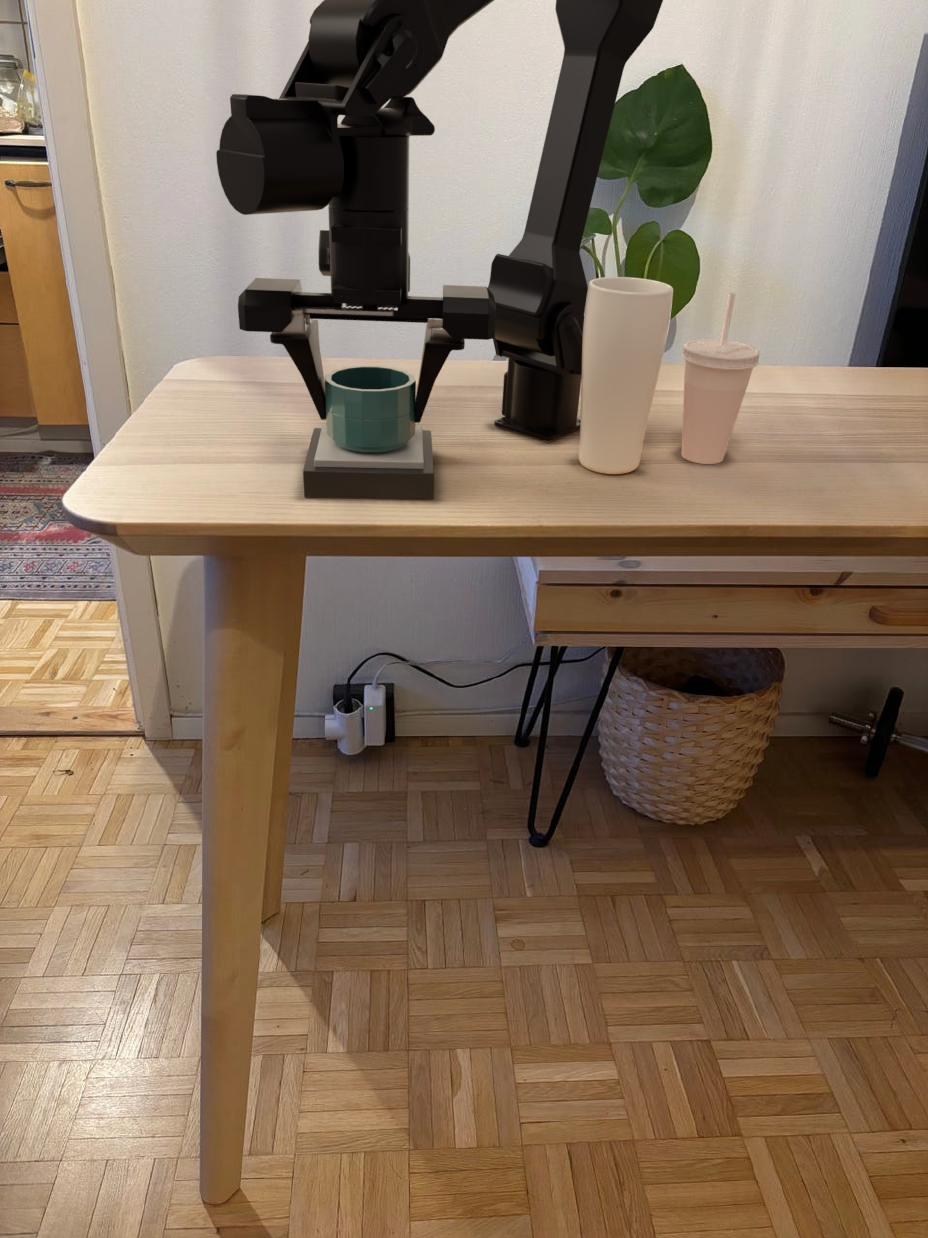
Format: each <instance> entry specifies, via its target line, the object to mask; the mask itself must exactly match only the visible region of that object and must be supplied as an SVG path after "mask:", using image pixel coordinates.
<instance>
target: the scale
mask: <svg viewBox="0 0 928 1238" xmlns="http://www.w3.org/2000/svg"><path fill="white" fill-rule="evenodd" d="M432 439H433V437H432V430H427V429H426V430H425V429H424V430H423V426H419V425H418V426H416V425H415V435H414V436H413V437H412V438H411V439H410V440H409V441H408V443H407V444H406V445H405V446H403V447H401V448H399V449H396V450H392V451H386V452H358V451H352V450H348V449H345V448H342V447H340V446H338V445H337V444H335V443H334V441H333V439H331V438H330V437H329V436H328V435H327V424H326V423H324V424H322V425H321V427H314V428H313V430H312V435H311V438H310V442H309V446H308V451H307V455H306V459H305V463H304V466H303V470H302V481H303V497H304V498H318V499H319V498H323V499H373V500H374V499H377V500H378V499H382V500H384V499H385V500H434V497H435V496H434V494H435V467H434V466H435V465H434V452H433V440H432Z"/></svg>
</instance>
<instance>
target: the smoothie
mask: <svg viewBox="0 0 928 1238" xmlns="http://www.w3.org/2000/svg"><path fill="white" fill-rule="evenodd" d="M735 298H736V293H735V292H728V294H727V301H726V306H725V312H724V318H723V322H722V328H721V334H720V339H718V338H717V339H716V338H699V339H692V340H689V341H686V342H685V343H684V345H683V349H682V353H681V358H683V360H684V377H683V379H684V381H683V403H682V404H683V405H682V406H683V407H682V430H681V431H682V433H681V453H680V454H681V457H682V458H683V459H684V460H687V461H688V462H692V463H696V464H700V465H701V464H702V465H716V464H720V463H722V462H723V461H724V460H725V459H724V458H725V455H726V452H727V449H728V447H729V443H730V440H731V437H732V435H733V431H734V428H735V424H736V422H737V418H738V415H739V412H740V409H741V406H742V403H743V401H744V397H745V395H746V393H747V389H748V386H749V383H750V379H751V376H752V373H753V370H754V368H756V367H758V365H759V358H760V354H761V353H760V350H759V349H758V348H757V347H754V346H753V345H751V344H748V343H743V342H739V341H733V340H728V337H729V332H730V326H731V321H732V315H733V311H734V305H735V300H736V299H735Z"/></svg>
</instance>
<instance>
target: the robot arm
mask: <svg viewBox="0 0 928 1238" xmlns="http://www.w3.org/2000/svg"><path fill="white" fill-rule="evenodd" d="M494 1H495V0H322V1H321V2H320V3H319V5H318V6H317V7H315V9H314V10H313V12H312V14H311V16H310V18H309V25H310V27H309V34H308V41H307V43H306V45H305V46H304V49H303V51H302V52H301V55H300V57H299V59H298V61H297V62H296V64H295V66H294V68H293V71H291V74H290V76H289V78H288V80H287V82H286V84H285V86H284V87H283V90H282V92H281V94H280V95H279V98H271V97H269V96H266V95H257V94H248V93H247V94H245V93H242V94H241V93H232V94H231V95H230V97H229V101H230V102H229V103H230V116H229V118H228V119H227V120H226V121H225V123H224V124H223V127H222V129H221V130H222V131H221V134H220V137H219V146H218V147H219V148H218V149H217V150H216V152H215V153H216V166H217V173H218V177H219V182H220V185H221V189H222V191H223V193H224V196H225V197H226V199H227V201H228V203H229V204H230V206H231V207H232V208H233V209H234V210H235V211H236V212H238V213H239V214H241V215H244V216H250V215H264V214H265V215H266V214H281V213H282V214H283V213H294V212H295V213H296V212H297V213H298V212H310V211H311V212H312V211H313V212H314V211H321V210H323V209H325V208H326V207H328V230H327V229H326V230H325V229H321V230H319V235H318V236H319V237H318V270H319V272H320V274H321V275H322V277H330V292H310V291H309V292H307V291H303V288H302V283H301V280H300V279H296V278H270V277H269V278H268V277H266V278H265V277H255V278H254V279H253V280H252V281H251V282H250V284H248V286H247V287H246V288H245V289H244V290H243V291H242V292H241V293H240V294H239V295H238V300H237V314H238V326H239V327H238V328H239V330H241V331H244V332H253V333H254V332H256V333H257V332H258V333H270V335H269V340H270V343H271V344H275V345H282V346H283V347H284V349H285V350H286V352H287V353H288V355H289V357H290V359H291V360H292V362H293V363H294V366H295V367H296V369H297V370H298V372H299V374H300V376H301V378H302V380H303V382H304V384H305V386H306V389H307V391H308V393H309V396H310V398H311V401H312V402H313V404H314V407H315V409H316V411H317V414H318V416H319V418H320V420H321V421H326V397H325V373H324V368H323V367H324V366H323V362H322V361H323V360H322V354H321V348H320V331H319V320H331V321H334V320H335V321H337V320H338V321H358V322H359V321H362V322H363V321H364V322H391V323H416V324H418V323H419V324H426V326H425V333H424V340H423V347H422V355H421V360H420V361H421V362H420V367H419V374H418V381H417V386H416V388H417V389H416V403H415V424H420V423H421V420H422V418H423V416H424V413H425V410H426V407H427V404H428V402H429V399H430V395H431V394H432V391H433V388H434V386H435V383H436V381H437V378H438V376H439V374H440V372H441V371H442V368H443V366H444V365H445V363H446V361H447V359H448V357H449V355H450V353H451V352H452V351H462V350H464V349H465V345H466V343H465V342H466V341H465V340H485V341H489V340H493V347H494V350H495V351H494V352H495V355H496V356H497V357H499V358H501V357H504V358H506V359H508V360H507V371H505V372H504V373H503V382H502V383H503V385H502V398H501V399H502V400H501V401H502V402H501V415H502V417H500V418H497V419H495V420H494V426H495V427H497V428H500V429H504V430H507V431H511V432H514V433H517V434H520V435H524V436H527V437H530V438H533V439H537V440H541V441H544V442H552V441H554V440H557V439H560V438H562V437H564V436H566V435H568V434H571V433H574V432H576V431H577V430H580V420H581V418H580V419H579V418H578V416H579V407H580V397H581V378H582V338H583V324H584V314H585V306H586V299H587V293H588V286H589V284H588V282H587V278H586V274H585V270H584V266H583V262H582V257H581V254H580V251H581V244H582V241H583V236H584V233H585V228H586V225H587V220H588V216H589V212H590V209H591V203H592V200H593V195H594V191H595V187H596V183H597V179H598V175H599V172H600V171H599V170H600V166H601V163H602V159H603V155H604V151H605V146H606V143H607V138H608V134H609V130H610V126H611V122H612V118H613V114H614V109H615V106H616V101H617V98H618V94H619V89H620V85H621V81H622V77H623V73H624V69H625V66H626V63H627V62H628V61H629V59H630V58H631V57H632V56H633V54H634V53H635V52H636V51H637V49H638V48H639V47H640V46H641V44H642V43H643V42H644V40H645V39H646V38H647V36H648V35H649V34H650V33H651V31H652V30H653V29H654V26H655V24H656V21H657V19H658V16H659V14H660V10H661V8H662V4H663V3H664V0H555V6H554V7H555V8H554V9H555V15H556V19H557V24H558V28H559V31H560V36H561V39H562V44H563V49H564V50H563V57H562V61H561V65H560V71H559V75H558V78H557V83H556V89H555V92H554V96H553V102H552V106H551V111H550V115H549V119H548V124H547V128H546V133H545V138H544V143H543V147H542V151H541V155H540V160H539V164H538V165H539V166H538V170H537V173H536V178H535V181H534V182H535V183H534V187H533V191H532V192H533V193H532V195H531V200H530V206H529V210H528V213H527V218H526V221H525V222H526V223H525V227H524V232H523V234H522V238H521V239H520V240H519V242H517V244H516V246H515V247H514V248H513V249H512V250H511V252H510V253H509V254H508V255H507V254H501V253H496V254H495V255H494V257H493V260H492V262H491V265H490V275H489V276H490V277H489V283H488V286H483V285H481V286H479V285H457V284H456V285H455V284H454V285H452V284H443V285H442V296H418V295H416V296H414V295H409V292H410V291H411V255H410V252H409V249H410V248H409V247H410V246H409V245H410V244H409V243H410V241H409V240H410V239H409V238H410V237H409V236H410V234H409V233H410V137H414V136H415V137H424V136H428V137H429V136H433V135H434V134H435V131H436V128H435V127H436V126H435V125H434V124H433V122H432V121H431V120H430V119H429V117H428V116H427V115H426V114H425V113H424V112H422V110H421V109H420V108H419V106H418V105H417V103H416V100H415V98H414V97H412V96H409V95H410V94H412V93H413V92H414V91H415V90H416V89H417V88H418V86H419V85H421V83H422V82H423V81H424V80H425V79H426V77H428V75H429V74H430V73H431V72H432V71H433V70H434V69H435V68H436V66H437V65H438V64H439V63H440V62H441V60H442V59H443V56H444V53H445V50H446V47H447V44H448V41H449V39H450V38H451V36H452V35H453V34H454V33H455V32H456V31H457V30H458V28H460V27H461V26H462V25H463V24H465V23H466V22H468V21H469V20H471V18H473V17H474V16H476V15H477V14H478V13H480V12H481V11H482V10H483V9H485V8H486V7H488V6H489V5H490V4H491V3H493V2H494ZM339 116H343V118H342V120H341V121H340V123H338V118H339ZM343 304H344V305H343Z"/></svg>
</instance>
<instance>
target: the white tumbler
mask: <svg viewBox="0 0 928 1238" xmlns="http://www.w3.org/2000/svg"><path fill="white" fill-rule="evenodd" d="M673 295H674V288H673V286H671V285H670V284H668V283H666V282H662V281H658V280H654V279H649V278H641V277H631V276H630V277H629V276H606V277H605V276H603V277H599V278H593V279H592V280H590V281H589V282H588V291H587V298H586V305H585V312H584V324H583V338H582V378H581V387H580V429H579V442H578V451H577V457H578V461H579V463H580V464H581V466H583V467H584V468H586V469H588V470H590V471H592V472H595V473H599V474H606V475H621V474H622V475H623V474H627V473H630V472H633V471H635V470H636V469H637V468H638V467H639V465H640V464H641V458H642V452H643V445H644V440H645V435H646V432H647V431H646V430H647V428H648V427H647V426H648V423H649V419H650V413H651V409H652V405H653V401H654V396H655V392H656V388H657V384H658V379H659V376H660V371H661V367H662V363H663V359H664V354H665V350H666V346H667V342H668V341H667V340H668V334H669V328H670V324H671V323H670V322H671V316H672V315H671V313H672V305H673V297H674V296H673Z"/></svg>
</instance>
